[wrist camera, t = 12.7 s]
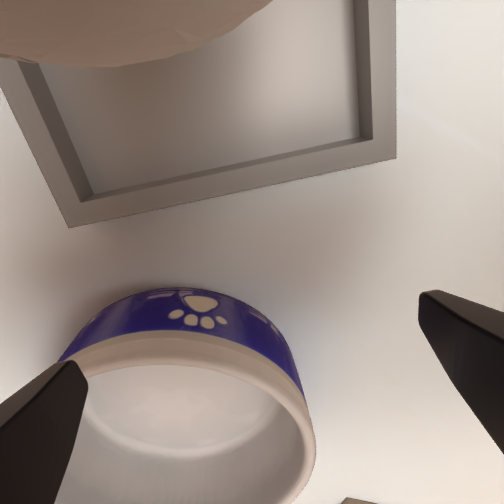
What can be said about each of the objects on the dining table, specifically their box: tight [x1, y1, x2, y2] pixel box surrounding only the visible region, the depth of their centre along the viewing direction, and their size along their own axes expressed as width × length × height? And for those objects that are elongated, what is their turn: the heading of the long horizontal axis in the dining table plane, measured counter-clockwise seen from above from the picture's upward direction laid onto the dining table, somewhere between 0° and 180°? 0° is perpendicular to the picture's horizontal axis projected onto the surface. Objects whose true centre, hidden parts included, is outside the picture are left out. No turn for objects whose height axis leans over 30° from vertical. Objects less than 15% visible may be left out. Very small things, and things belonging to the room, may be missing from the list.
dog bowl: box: [54, 288, 316, 504], centre depth 19 cm, size 15×15×6 cm
